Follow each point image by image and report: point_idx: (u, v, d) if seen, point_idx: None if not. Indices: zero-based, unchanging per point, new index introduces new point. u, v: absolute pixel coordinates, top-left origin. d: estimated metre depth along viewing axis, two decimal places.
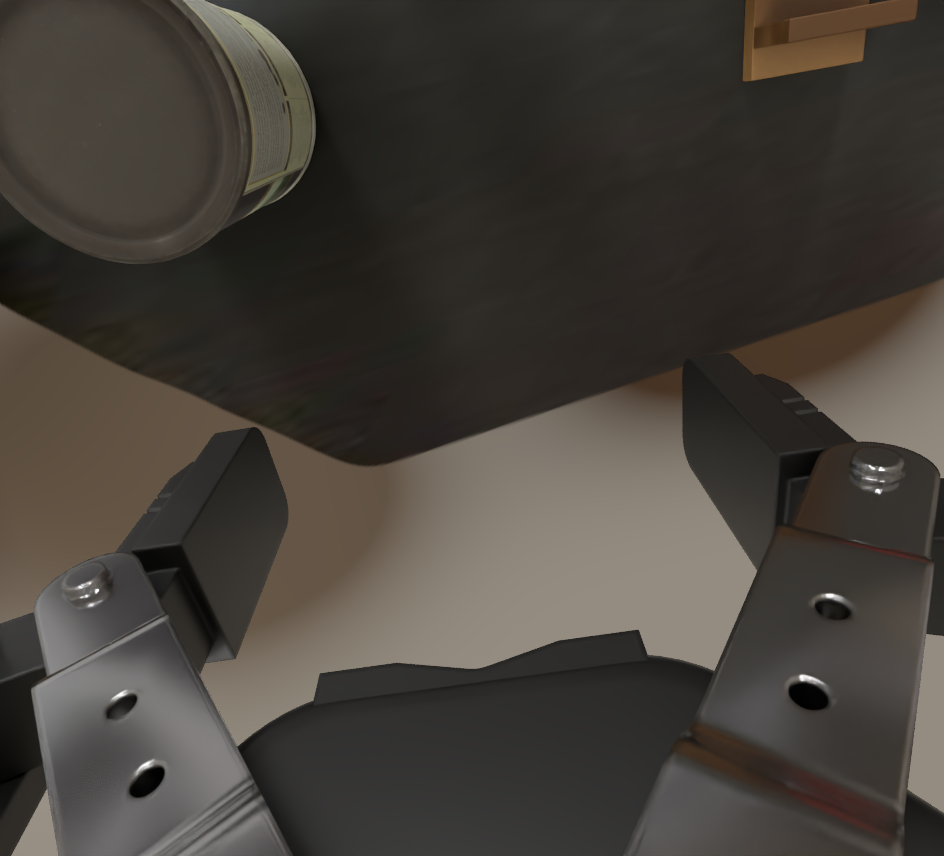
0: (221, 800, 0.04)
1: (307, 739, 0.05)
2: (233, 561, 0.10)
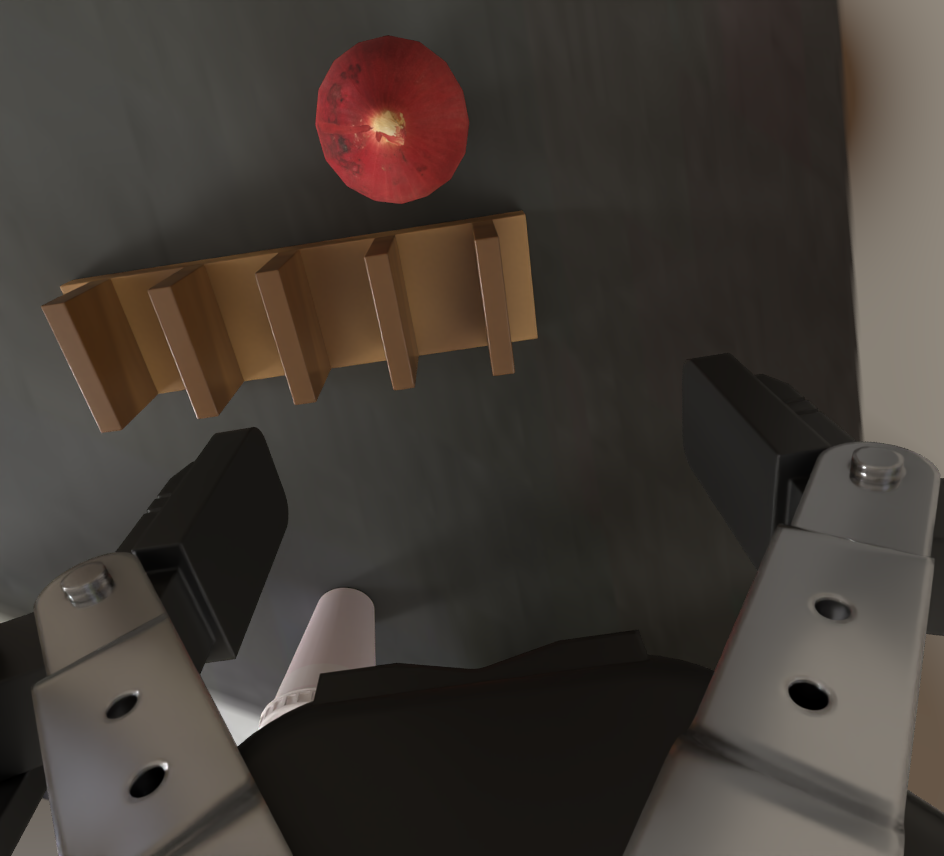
0: (220, 800, 0.04)
1: (307, 739, 0.05)
2: (232, 562, 0.10)
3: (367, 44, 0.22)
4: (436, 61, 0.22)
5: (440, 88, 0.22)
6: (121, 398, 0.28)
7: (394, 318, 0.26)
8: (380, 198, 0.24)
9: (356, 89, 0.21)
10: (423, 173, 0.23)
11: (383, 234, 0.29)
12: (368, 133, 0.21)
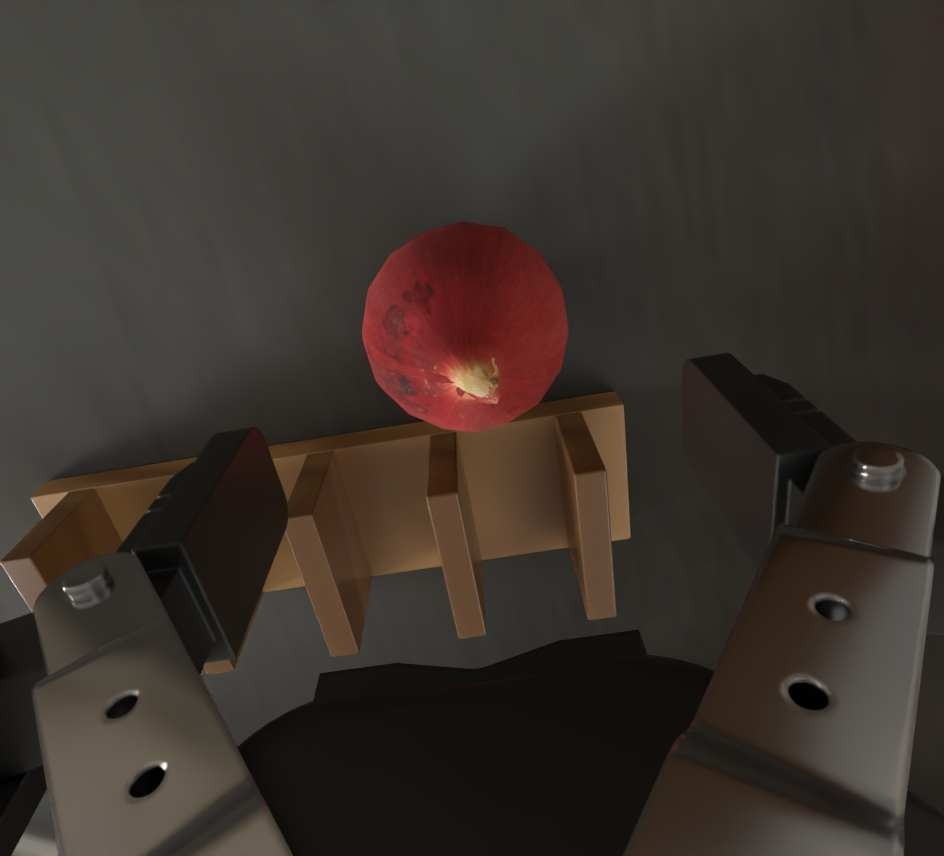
0: (221, 800, 0.04)
1: (307, 739, 0.05)
2: (233, 562, 0.10)
3: (438, 247, 0.16)
4: (532, 264, 0.16)
5: (541, 307, 0.16)
6: None
7: (462, 563, 0.20)
8: None
9: (427, 323, 0.15)
10: (514, 412, 0.17)
11: None
12: (445, 385, 0.15)
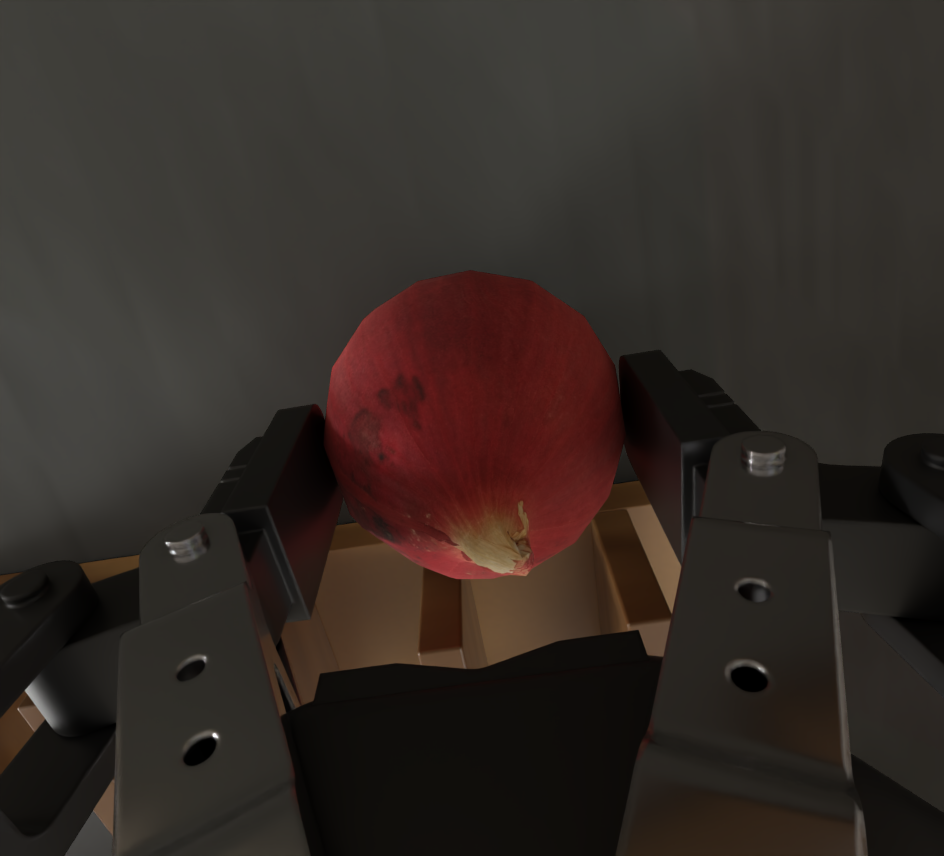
0: (261, 787, 0.04)
1: (307, 739, 0.05)
2: (305, 528, 0.10)
3: (433, 318, 0.10)
4: (577, 341, 0.10)
5: (593, 410, 0.10)
6: None
7: None
8: None
9: (416, 444, 0.09)
10: (547, 558, 0.11)
11: None
12: (444, 544, 0.09)
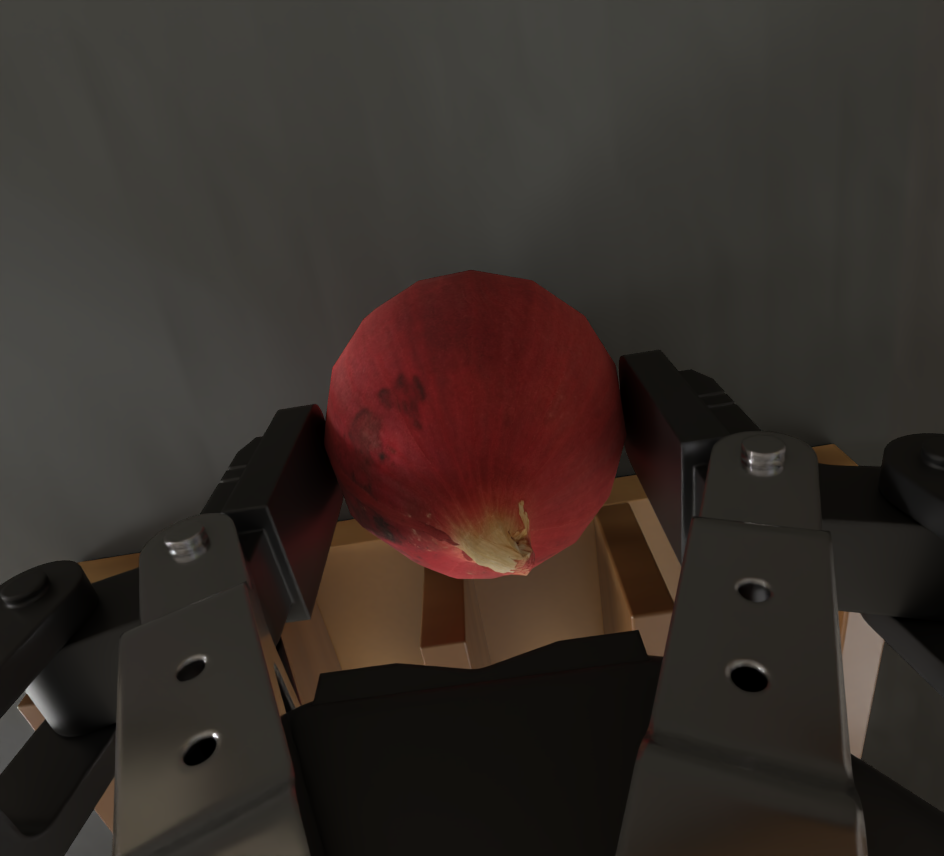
0: (260, 785, 0.04)
1: (307, 739, 0.05)
2: (305, 528, 0.10)
3: (434, 318, 0.10)
4: (577, 341, 0.10)
5: (593, 409, 0.10)
6: None
7: None
8: None
9: (416, 444, 0.09)
10: (547, 558, 0.11)
11: None
12: (445, 543, 0.09)
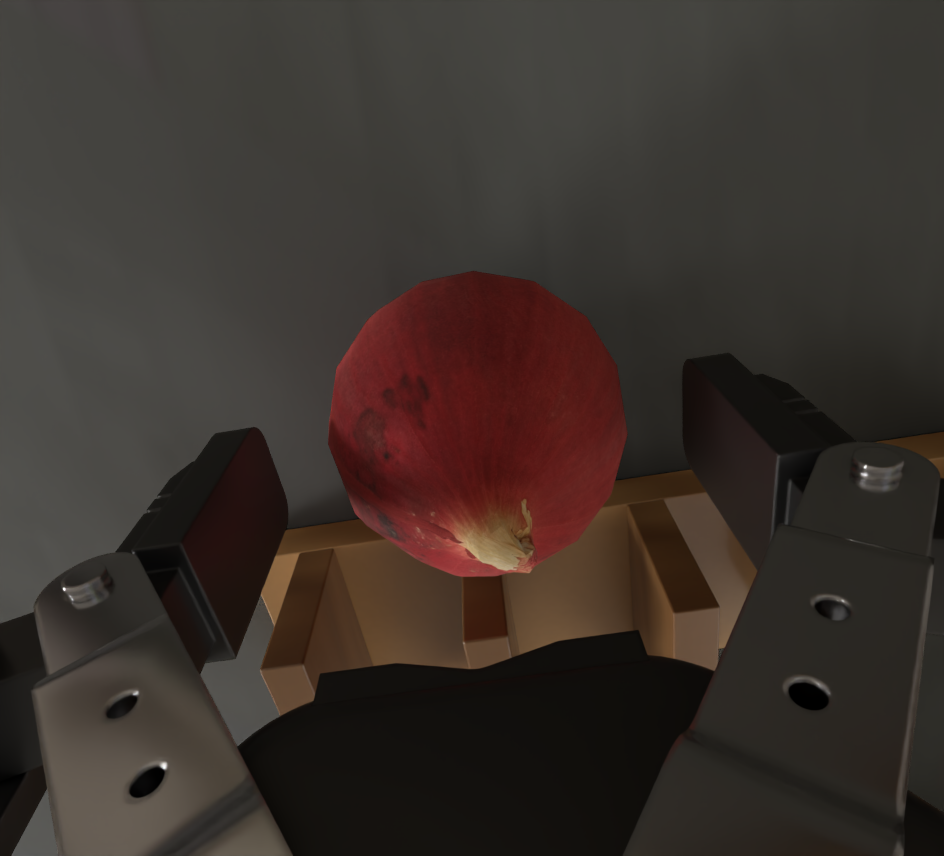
0: (222, 799, 0.04)
1: (307, 739, 0.05)
2: (232, 562, 0.10)
3: (437, 319, 0.10)
4: (579, 341, 0.11)
5: (595, 409, 0.10)
6: None
7: None
8: None
9: (420, 444, 0.09)
10: (549, 556, 0.11)
11: None
12: (448, 542, 0.09)
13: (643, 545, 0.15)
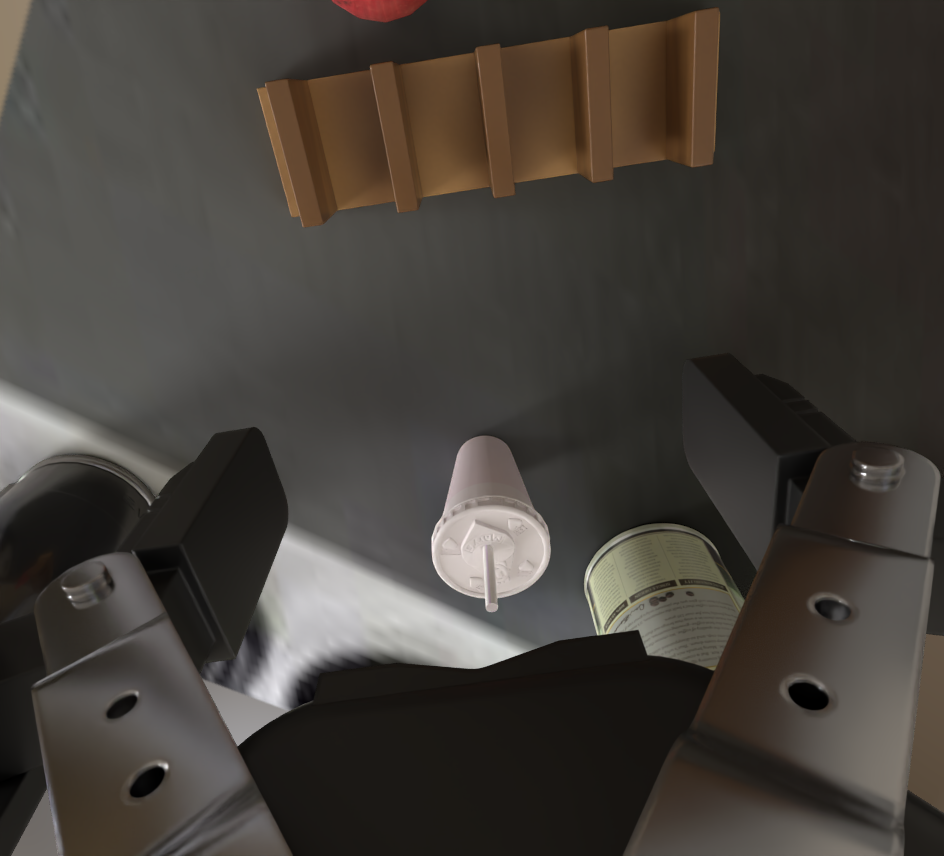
0: (220, 800, 0.04)
1: (307, 739, 0.05)
2: (233, 562, 0.10)
3: None
4: None
5: None
6: (320, 195, 0.29)
7: (604, 100, 0.27)
8: (363, 8, 0.25)
9: None
10: None
11: None
12: None
13: None
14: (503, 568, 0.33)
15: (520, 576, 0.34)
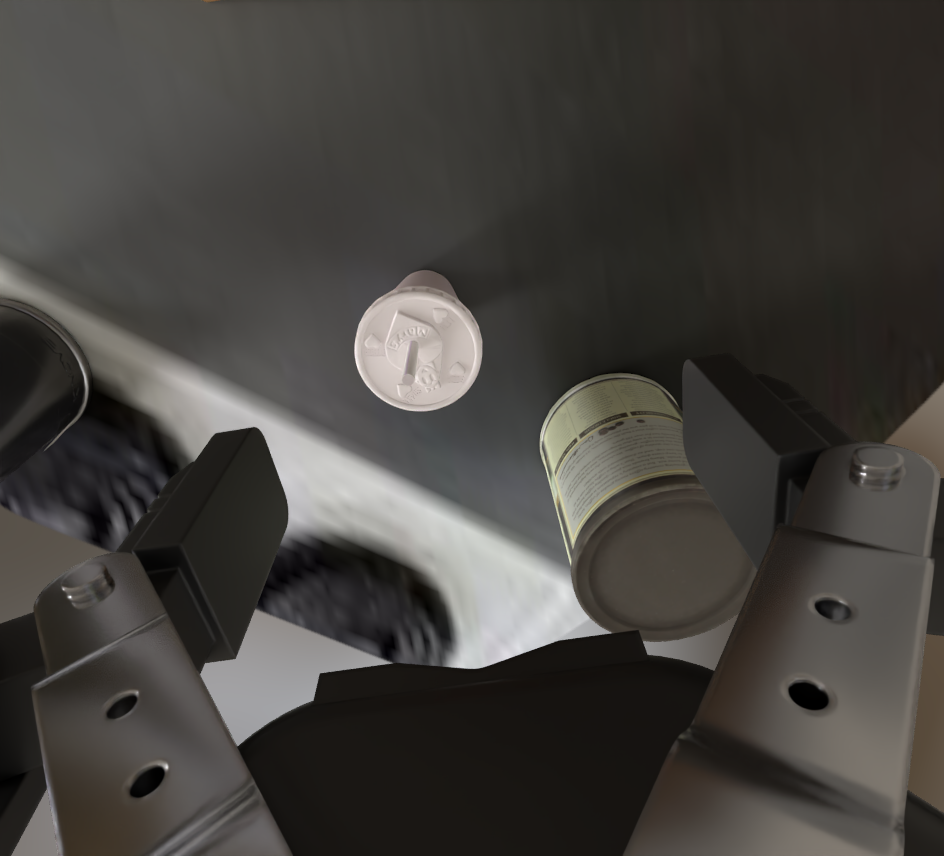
0: (222, 799, 0.04)
1: (307, 739, 0.05)
2: (233, 561, 0.10)
3: None
4: None
5: None
6: None
7: None
8: None
9: None
10: None
11: None
12: None
13: None
14: (432, 370, 0.31)
15: (451, 382, 0.31)
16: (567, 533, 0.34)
